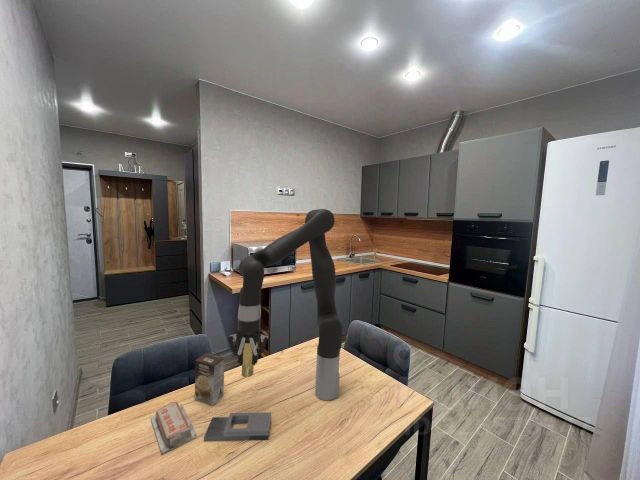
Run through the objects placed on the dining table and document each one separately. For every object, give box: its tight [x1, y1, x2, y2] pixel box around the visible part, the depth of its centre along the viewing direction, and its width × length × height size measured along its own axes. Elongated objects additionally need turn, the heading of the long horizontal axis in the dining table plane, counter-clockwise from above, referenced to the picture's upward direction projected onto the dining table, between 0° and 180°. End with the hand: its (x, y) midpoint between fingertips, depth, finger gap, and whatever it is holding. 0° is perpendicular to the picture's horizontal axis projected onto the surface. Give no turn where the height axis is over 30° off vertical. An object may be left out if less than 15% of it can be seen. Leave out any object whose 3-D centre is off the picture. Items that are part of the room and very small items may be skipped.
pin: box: [241, 342, 255, 378], centre depth 91 cm, size 4×4×12 cm
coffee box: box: [194, 352, 225, 407], centre depth 101 cm, size 9×6×16 cm
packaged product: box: [150, 401, 197, 455], centre depth 87 cm, size 18×5×10 cm
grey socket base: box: [203, 412, 272, 442], centre depth 87 cm, size 20×8×3 cm, turn 94°
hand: (247, 363), depth 91 cm, fingers closed on pin, 4 cm apart
